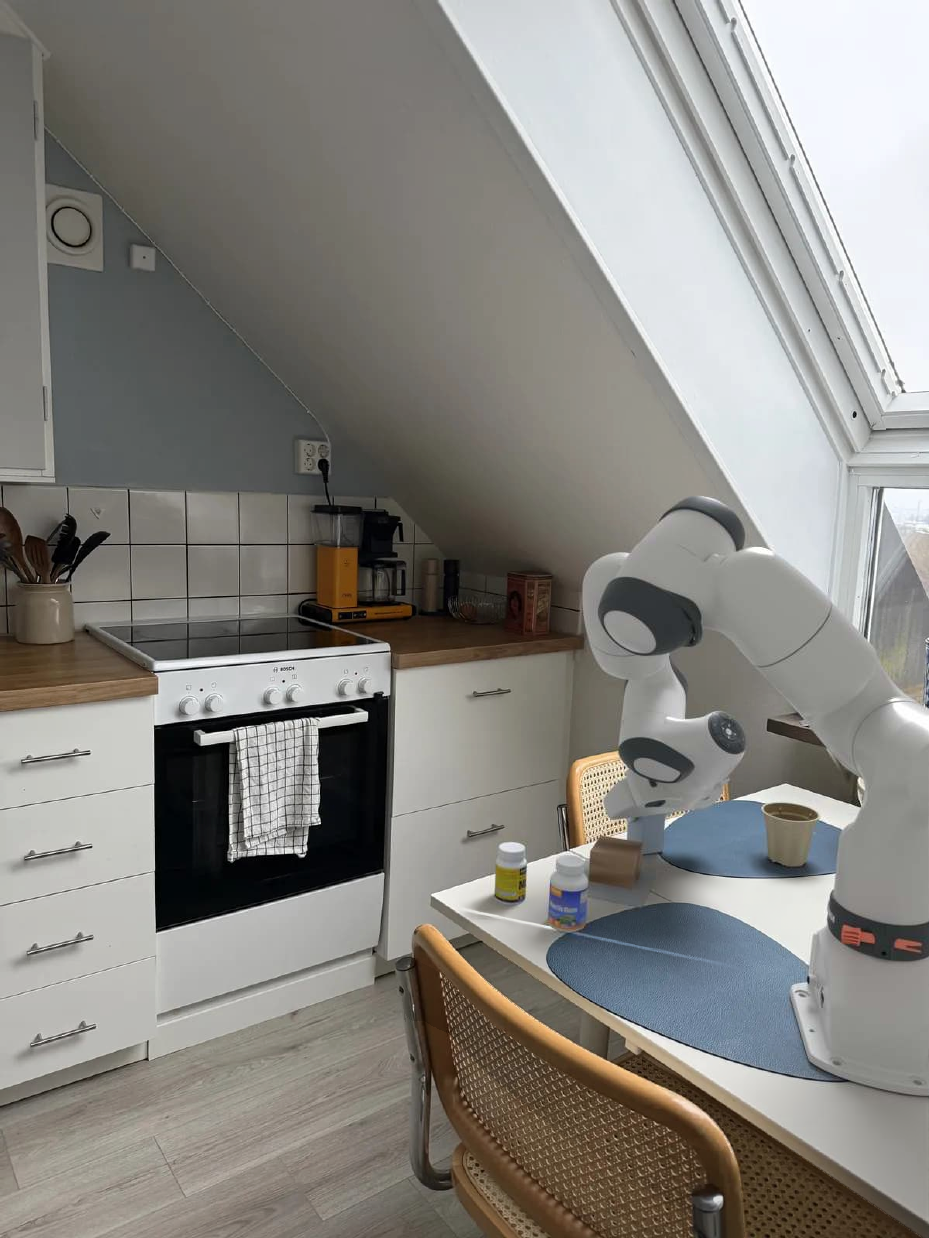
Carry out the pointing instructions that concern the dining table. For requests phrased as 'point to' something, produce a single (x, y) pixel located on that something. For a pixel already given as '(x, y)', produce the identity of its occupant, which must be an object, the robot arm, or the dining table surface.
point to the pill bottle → (568, 895)
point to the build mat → (622, 889)
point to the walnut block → (616, 862)
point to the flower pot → (789, 831)
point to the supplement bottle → (510, 874)
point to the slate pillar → (648, 832)
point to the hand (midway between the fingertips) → (644, 816)
